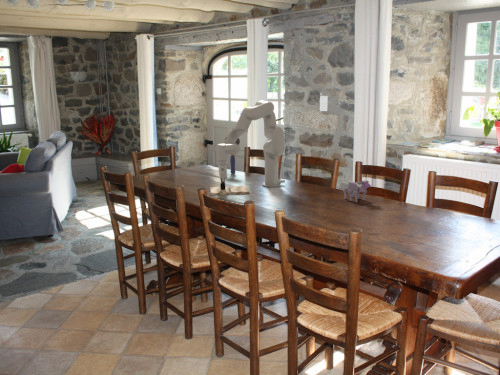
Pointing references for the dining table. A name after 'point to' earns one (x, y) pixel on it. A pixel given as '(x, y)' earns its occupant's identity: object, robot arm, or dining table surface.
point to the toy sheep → (358, 187)
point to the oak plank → (219, 191)
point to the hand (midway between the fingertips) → (223, 189)
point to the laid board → (239, 190)
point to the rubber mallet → (233, 159)
